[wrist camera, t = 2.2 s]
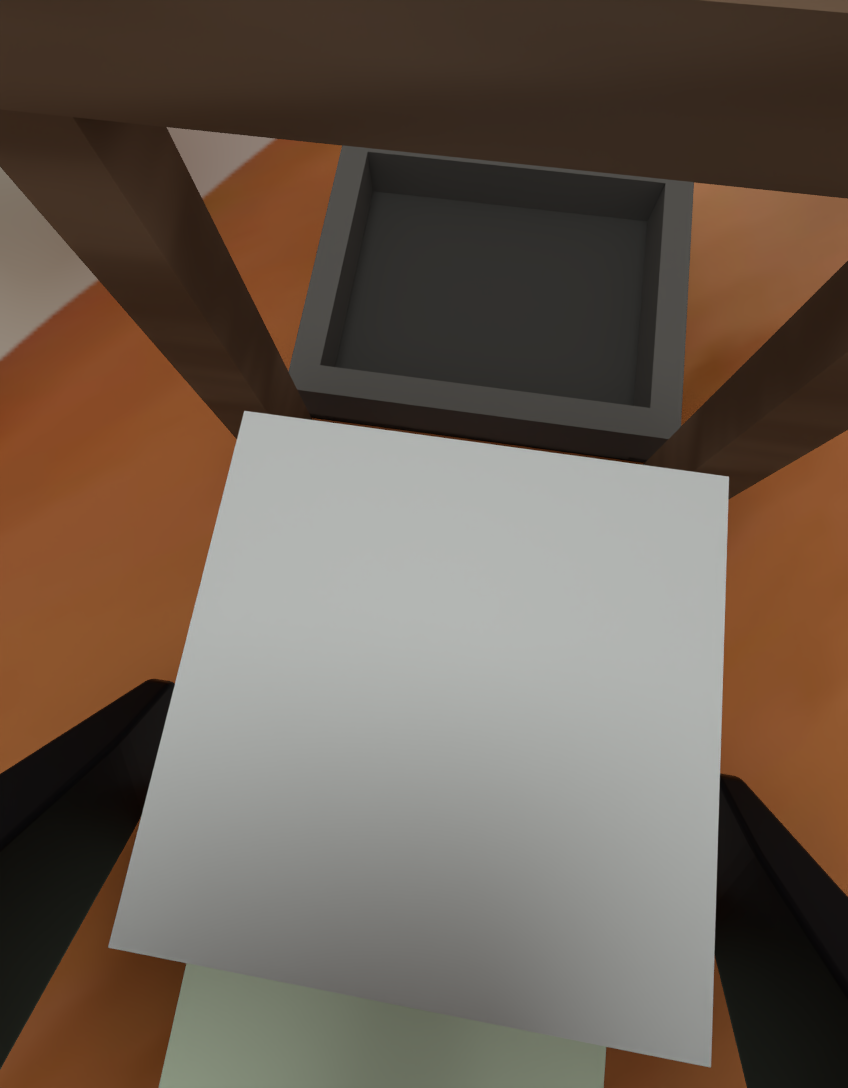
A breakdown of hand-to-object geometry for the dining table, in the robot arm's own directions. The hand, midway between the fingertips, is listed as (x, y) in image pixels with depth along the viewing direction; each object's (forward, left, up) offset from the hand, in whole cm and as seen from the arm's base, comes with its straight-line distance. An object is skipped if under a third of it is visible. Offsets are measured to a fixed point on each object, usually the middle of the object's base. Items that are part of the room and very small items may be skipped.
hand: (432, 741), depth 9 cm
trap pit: (+11, -10, -9) cm, 17 cm away
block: (+1, -1, -9) cm, 9 cm away
